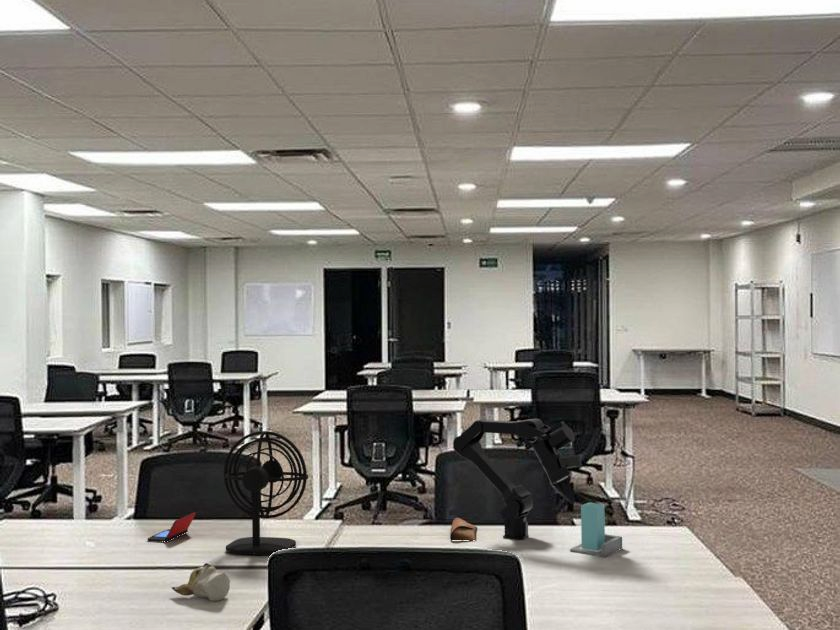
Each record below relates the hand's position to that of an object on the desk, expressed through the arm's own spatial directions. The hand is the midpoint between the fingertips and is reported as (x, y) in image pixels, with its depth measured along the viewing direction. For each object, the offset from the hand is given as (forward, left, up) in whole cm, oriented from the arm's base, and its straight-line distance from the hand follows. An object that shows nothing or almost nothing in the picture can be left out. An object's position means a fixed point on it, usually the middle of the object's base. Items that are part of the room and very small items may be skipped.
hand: (573, 502), depth 256 cm
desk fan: (-87, -37, -13) cm, 95 cm away
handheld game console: (-122, -36, -13) cm, 128 cm away
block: (+6, -3, -12) cm, 14 cm away
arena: (+6, -3, -13) cm, 15 cm away
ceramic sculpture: (-74, -80, -13) cm, 109 cm away
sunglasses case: (-36, +1, -13) cm, 38 cm away
